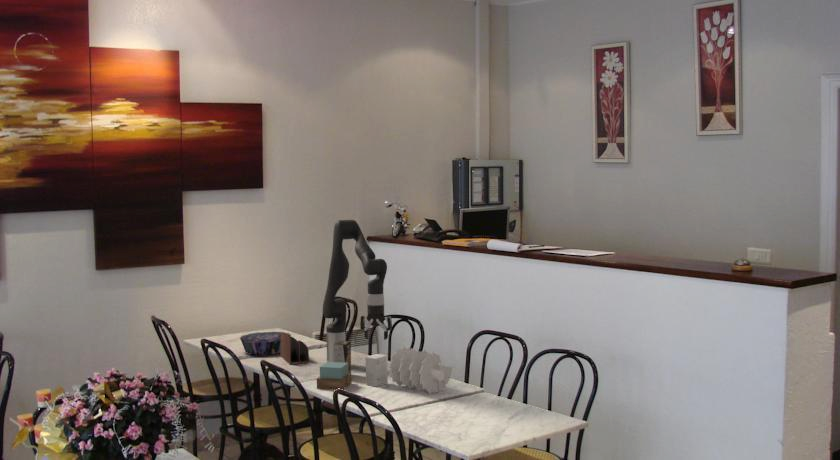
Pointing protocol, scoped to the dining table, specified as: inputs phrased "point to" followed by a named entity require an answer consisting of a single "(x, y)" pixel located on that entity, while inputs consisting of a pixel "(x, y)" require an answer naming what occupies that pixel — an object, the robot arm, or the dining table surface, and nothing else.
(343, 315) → the robot arm
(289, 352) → the letter holder
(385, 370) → the small box
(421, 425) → the dining table surface
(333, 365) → the tower top block
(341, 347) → the coffee box
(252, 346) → the decorative bowl
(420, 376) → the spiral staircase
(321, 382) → the tower bottom block
